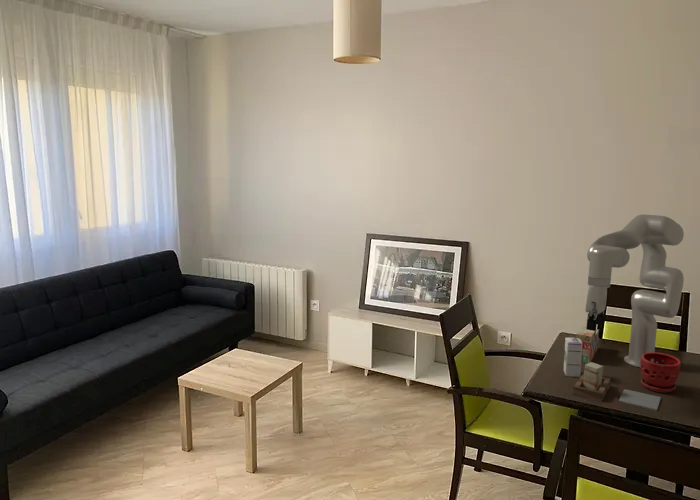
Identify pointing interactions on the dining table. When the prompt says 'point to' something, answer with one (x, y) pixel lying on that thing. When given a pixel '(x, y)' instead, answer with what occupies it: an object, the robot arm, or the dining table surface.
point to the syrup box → (572, 357)
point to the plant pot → (659, 371)
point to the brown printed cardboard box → (588, 343)
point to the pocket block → (590, 393)
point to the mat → (640, 399)
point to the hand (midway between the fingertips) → (594, 327)
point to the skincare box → (592, 376)
